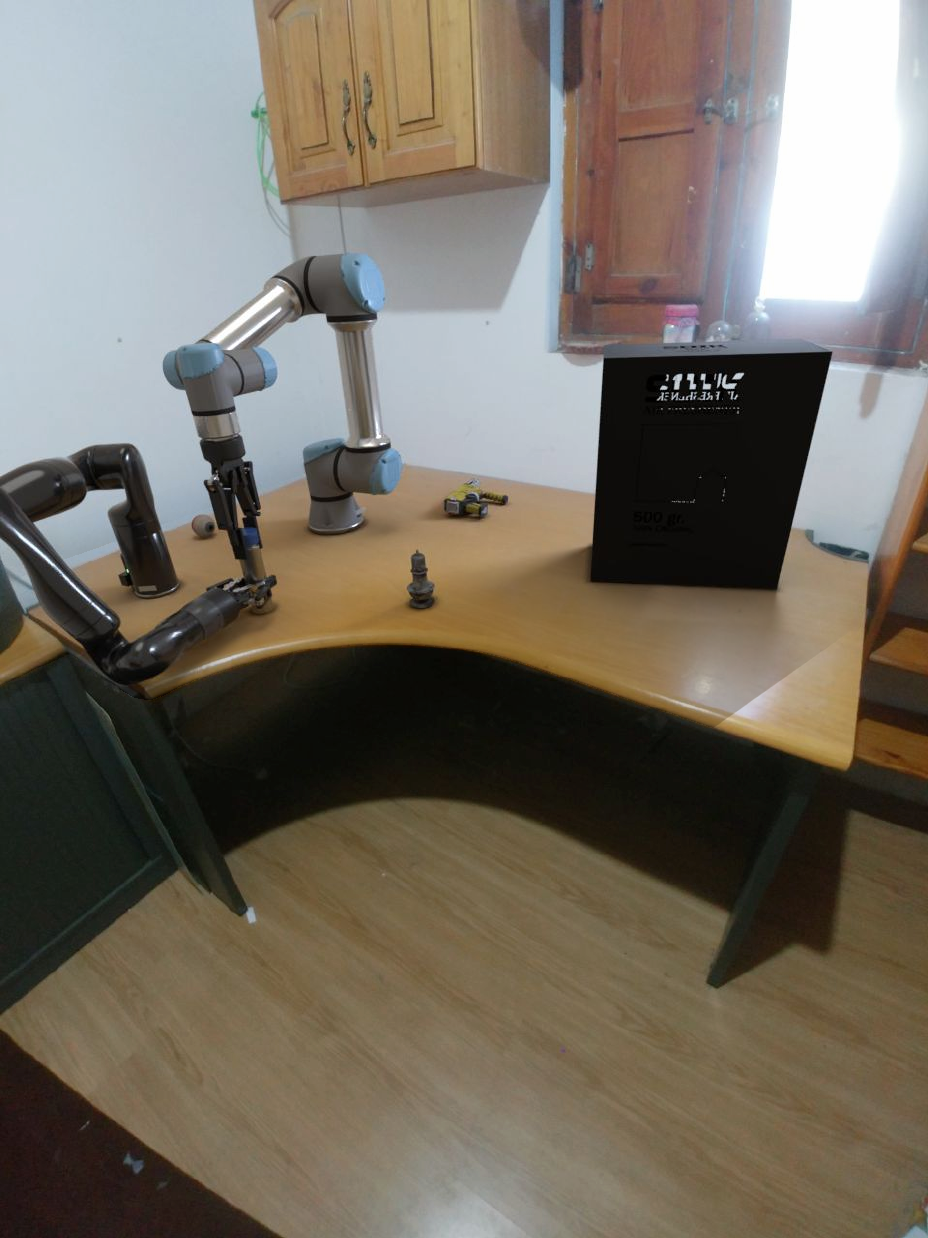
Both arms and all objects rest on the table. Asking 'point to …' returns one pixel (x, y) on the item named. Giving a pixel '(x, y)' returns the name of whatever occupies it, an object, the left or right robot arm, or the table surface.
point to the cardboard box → (703, 460)
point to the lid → (250, 536)
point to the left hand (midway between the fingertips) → (265, 577)
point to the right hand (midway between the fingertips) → (249, 553)
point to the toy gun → (471, 499)
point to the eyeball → (203, 525)
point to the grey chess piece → (420, 583)
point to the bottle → (255, 574)
